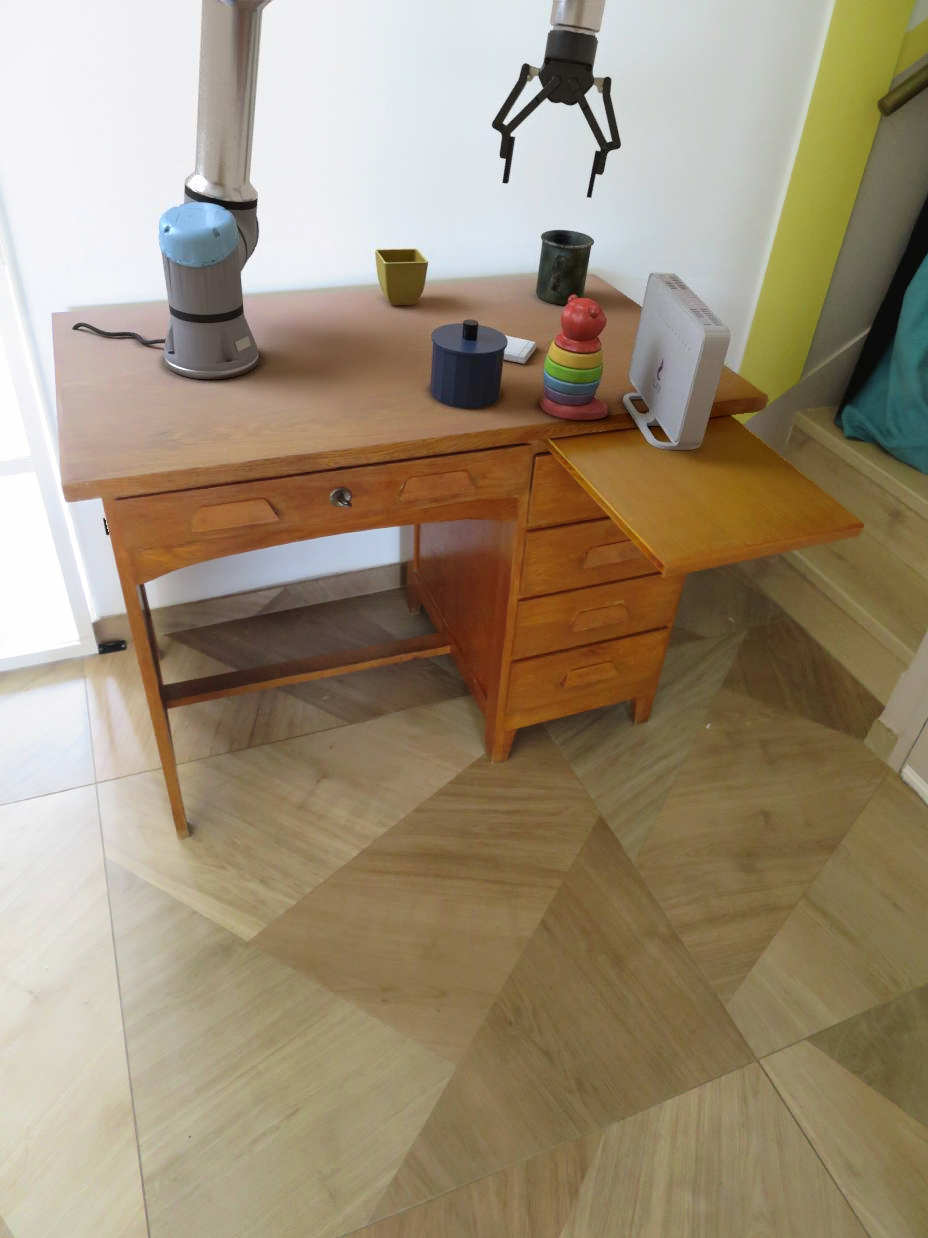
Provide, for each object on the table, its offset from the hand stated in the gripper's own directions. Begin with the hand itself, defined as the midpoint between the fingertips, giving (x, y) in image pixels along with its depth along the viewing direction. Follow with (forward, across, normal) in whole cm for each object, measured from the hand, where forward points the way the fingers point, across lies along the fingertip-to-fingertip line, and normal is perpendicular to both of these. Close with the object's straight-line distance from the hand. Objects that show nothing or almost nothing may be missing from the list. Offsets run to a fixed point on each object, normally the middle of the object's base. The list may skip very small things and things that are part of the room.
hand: (547, 189), depth 141 cm
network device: (+30, -25, +14) cm, 41 cm away
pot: (+31, +7, +14) cm, 34 cm away
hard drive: (+28, +4, -6) cm, 29 cm away
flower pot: (+27, +26, -24) cm, 45 cm away
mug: (+24, -4, -37) cm, 44 cm away
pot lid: (+22, +8, +15) cm, 27 cm away
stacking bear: (+30, -10, +14) cm, 35 cm away
